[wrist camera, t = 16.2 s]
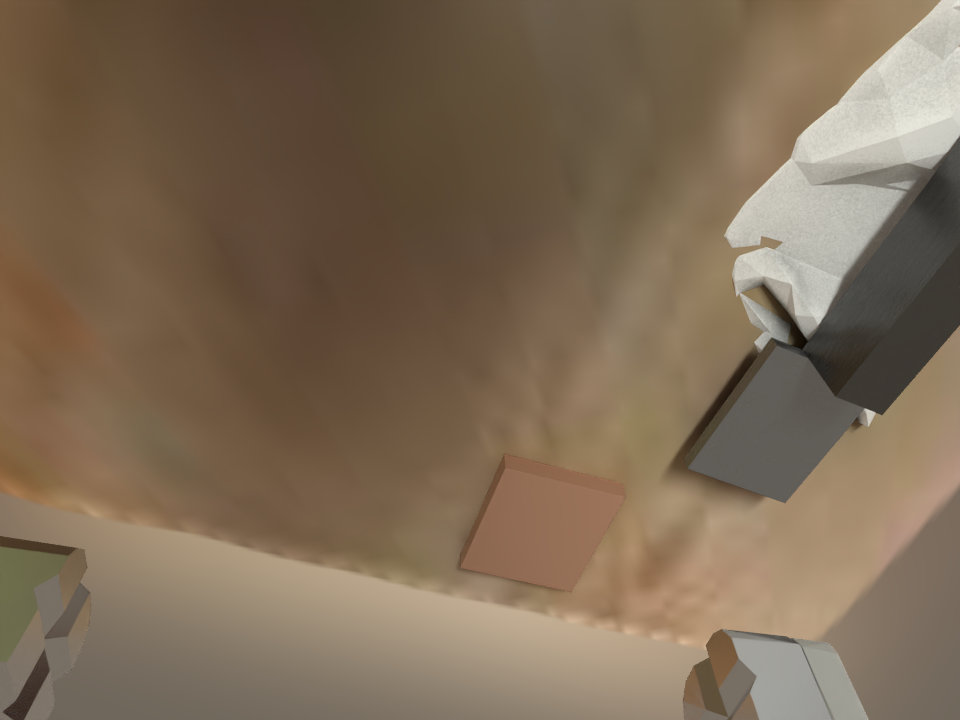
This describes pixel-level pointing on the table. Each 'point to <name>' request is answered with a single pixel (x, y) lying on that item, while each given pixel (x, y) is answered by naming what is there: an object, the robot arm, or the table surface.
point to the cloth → (851, 180)
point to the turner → (844, 354)
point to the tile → (540, 523)
